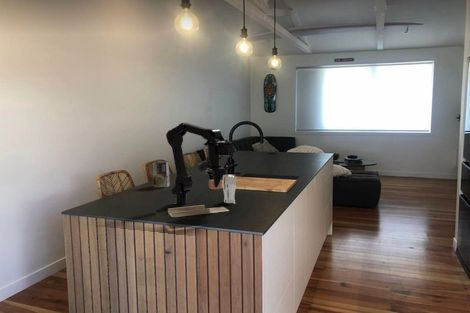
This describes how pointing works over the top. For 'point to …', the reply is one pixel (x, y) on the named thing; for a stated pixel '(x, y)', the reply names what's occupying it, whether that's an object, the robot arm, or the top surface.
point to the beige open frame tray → (193, 210)
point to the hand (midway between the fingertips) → (214, 186)
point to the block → (212, 186)
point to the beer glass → (229, 188)
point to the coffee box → (161, 173)
